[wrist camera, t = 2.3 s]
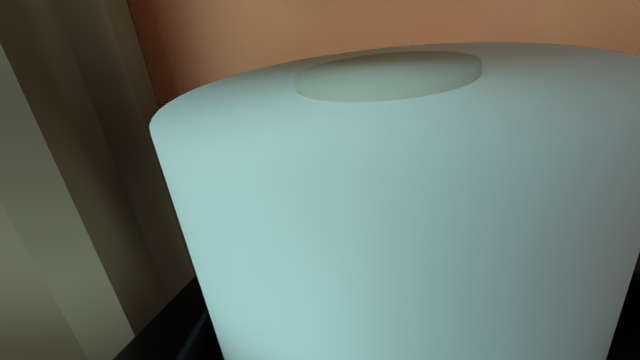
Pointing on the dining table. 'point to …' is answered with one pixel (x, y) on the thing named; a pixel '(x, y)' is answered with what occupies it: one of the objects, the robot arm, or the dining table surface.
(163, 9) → the dining table surface
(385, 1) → the dining table surface
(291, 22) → the dining table surface
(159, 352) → the robot arm
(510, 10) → the dining table surface
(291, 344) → the cylinder
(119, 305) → the cradle
